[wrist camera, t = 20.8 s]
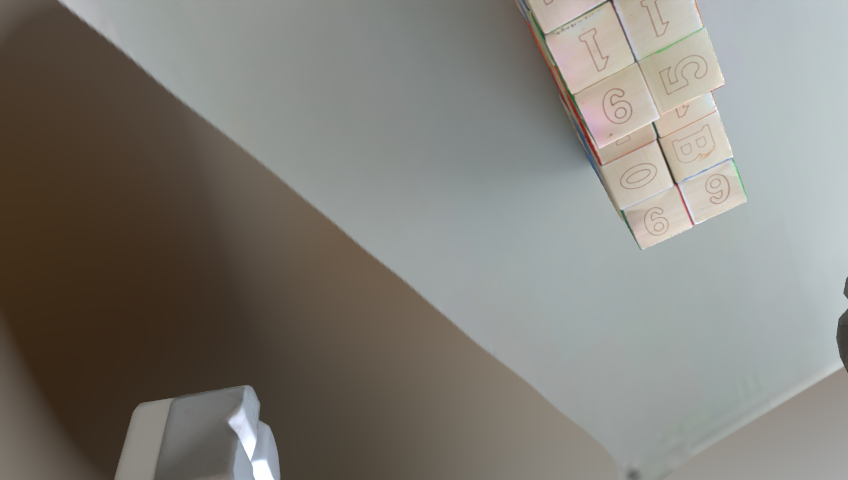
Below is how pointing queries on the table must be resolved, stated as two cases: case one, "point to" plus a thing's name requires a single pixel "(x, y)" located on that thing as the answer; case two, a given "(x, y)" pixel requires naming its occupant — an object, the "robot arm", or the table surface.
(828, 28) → the table surface
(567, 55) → the stack of blocks
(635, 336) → the table surface
